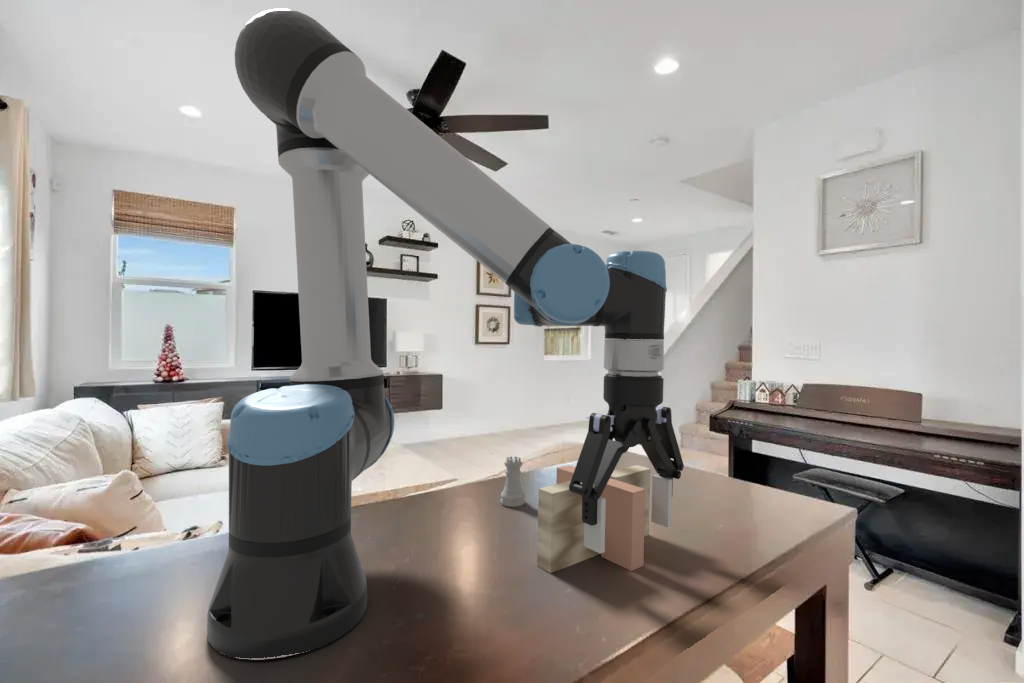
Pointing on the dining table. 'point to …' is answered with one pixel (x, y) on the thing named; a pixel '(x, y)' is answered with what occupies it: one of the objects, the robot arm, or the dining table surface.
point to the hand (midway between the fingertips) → (629, 536)
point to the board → (575, 520)
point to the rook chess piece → (513, 484)
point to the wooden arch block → (620, 520)
